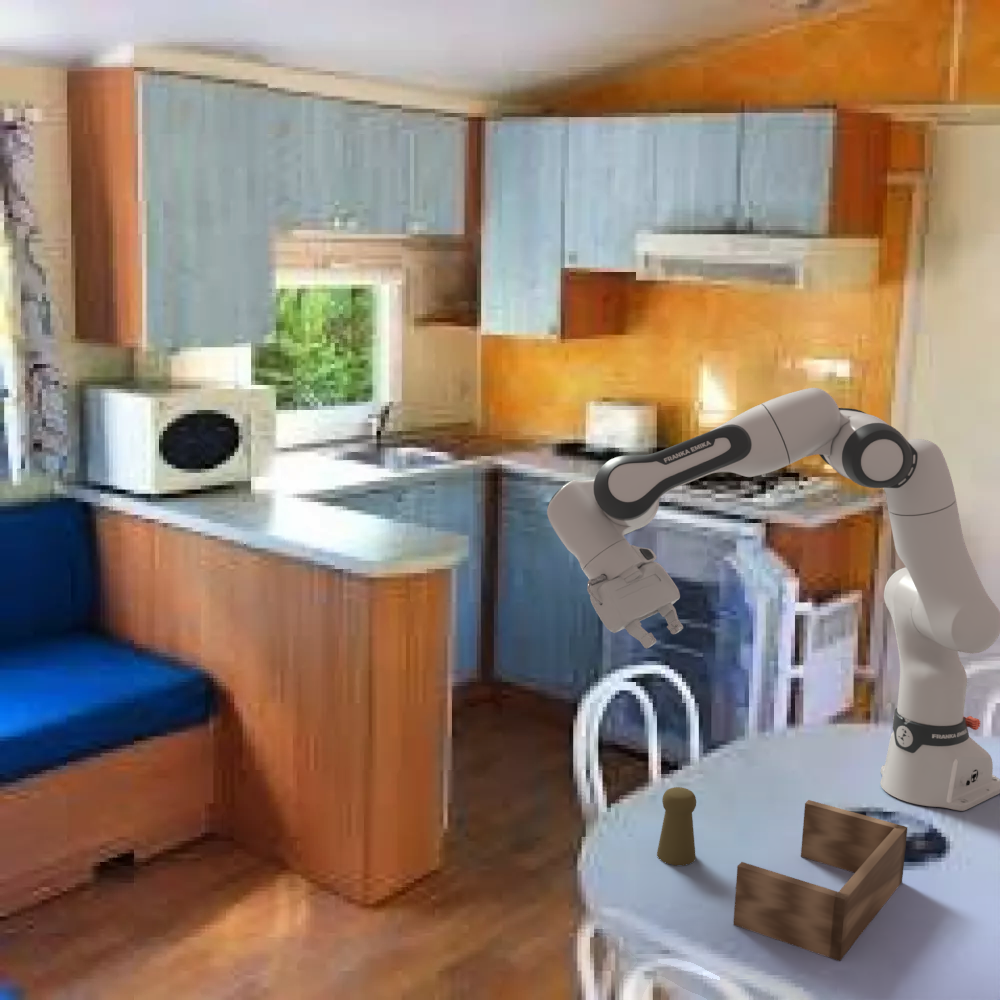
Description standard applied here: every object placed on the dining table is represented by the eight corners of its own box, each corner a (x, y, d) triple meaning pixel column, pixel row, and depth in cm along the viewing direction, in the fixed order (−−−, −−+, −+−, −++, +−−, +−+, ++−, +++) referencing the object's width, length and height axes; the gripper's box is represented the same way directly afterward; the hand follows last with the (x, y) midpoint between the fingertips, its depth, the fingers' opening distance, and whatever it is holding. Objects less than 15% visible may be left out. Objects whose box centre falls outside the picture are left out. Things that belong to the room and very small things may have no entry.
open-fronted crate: (733, 924, 181) (737, 865, 180) (804, 852, 203) (808, 799, 201) (840, 961, 173) (845, 899, 171) (902, 882, 195) (907, 827, 193)
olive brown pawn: (694, 867, 198) (698, 801, 195) (655, 863, 199) (658, 796, 196) (696, 849, 203) (700, 784, 201) (658, 845, 204) (661, 780, 202)
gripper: (595, 571, 201) (648, 643, 197) (656, 547, 217) (705, 613, 214) (570, 593, 204) (621, 665, 201) (631, 568, 221) (680, 634, 217)
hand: (665, 638), depth 207 cm, fingers open, 8 cm apart
